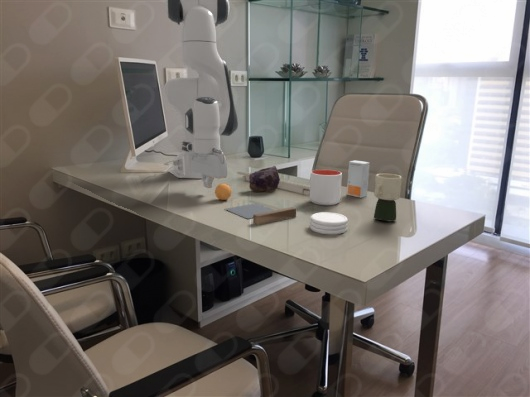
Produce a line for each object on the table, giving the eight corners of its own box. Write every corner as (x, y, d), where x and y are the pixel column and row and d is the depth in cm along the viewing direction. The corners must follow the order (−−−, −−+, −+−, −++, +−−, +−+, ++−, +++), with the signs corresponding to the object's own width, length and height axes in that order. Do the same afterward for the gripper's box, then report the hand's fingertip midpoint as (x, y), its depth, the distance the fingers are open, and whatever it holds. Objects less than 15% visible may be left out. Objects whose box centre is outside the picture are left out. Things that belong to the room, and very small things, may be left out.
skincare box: (346, 195, 155) (348, 161, 152) (352, 193, 158) (354, 160, 155) (361, 198, 151) (363, 163, 148) (367, 196, 154) (370, 162, 151)
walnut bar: (253, 223, 121) (253, 214, 121) (291, 215, 130) (291, 206, 129) (257, 225, 120) (257, 216, 119) (295, 216, 128) (296, 208, 127)
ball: (211, 199, 146) (211, 183, 144) (225, 197, 149) (225, 181, 147) (220, 202, 141) (220, 186, 140) (234, 200, 145) (234, 184, 143)
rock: (247, 193, 160) (263, 198, 152) (244, 170, 157) (260, 174, 149) (272, 184, 166) (289, 189, 158) (270, 162, 164) (287, 166, 156)
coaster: (322, 221, 125) (323, 209, 124) (353, 229, 119) (354, 216, 118) (302, 229, 118) (302, 217, 117) (334, 238, 111) (335, 225, 111)
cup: (322, 196, 152) (323, 168, 149) (346, 202, 145) (348, 172, 142) (303, 201, 145) (304, 172, 142) (327, 208, 138) (329, 176, 135)
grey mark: (224, 209, 134) (224, 208, 134) (256, 203, 141) (256, 203, 141) (247, 219, 125) (247, 218, 125) (280, 212, 132) (280, 211, 132)
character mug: (384, 213, 133) (388, 171, 129) (405, 219, 128) (410, 175, 124) (363, 220, 126) (366, 176, 122) (384, 226, 120) (388, 180, 117)
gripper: (232, 149, 142) (232, 191, 145) (200, 143, 157) (201, 181, 161) (215, 151, 138) (215, 194, 141) (184, 144, 154) (185, 183, 157)
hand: (207, 187), depth 151 cm, fingers closed
